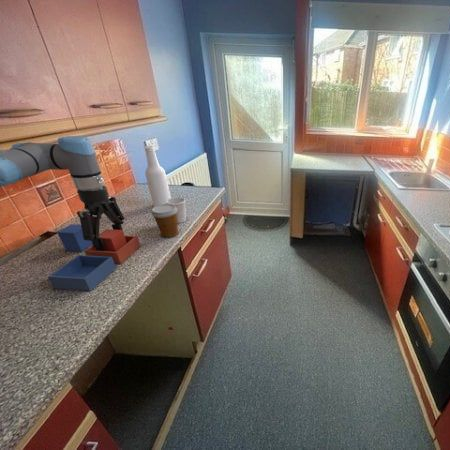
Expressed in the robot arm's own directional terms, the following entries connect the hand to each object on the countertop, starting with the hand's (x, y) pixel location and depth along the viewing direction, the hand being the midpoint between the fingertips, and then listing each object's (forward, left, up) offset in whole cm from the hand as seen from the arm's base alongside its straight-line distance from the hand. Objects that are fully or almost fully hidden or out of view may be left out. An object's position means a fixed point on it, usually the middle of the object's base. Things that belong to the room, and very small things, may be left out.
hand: (112, 246), depth 90 cm
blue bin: (0, -13, -3) cm, 14 cm away
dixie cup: (+10, +29, -3) cm, 31 cm away
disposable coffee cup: (+12, +16, -3) cm, 21 cm away
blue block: (-16, +3, -3) cm, 16 cm away
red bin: (0, 0, -3) cm, 3 cm away
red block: (0, 0, -2) cm, 3 cm away
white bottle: (-6, +44, -3) cm, 44 cm away
